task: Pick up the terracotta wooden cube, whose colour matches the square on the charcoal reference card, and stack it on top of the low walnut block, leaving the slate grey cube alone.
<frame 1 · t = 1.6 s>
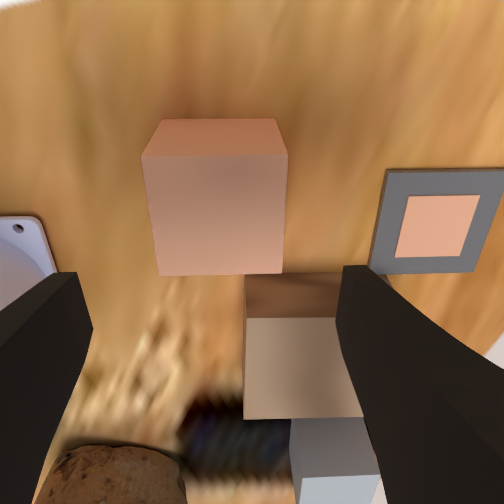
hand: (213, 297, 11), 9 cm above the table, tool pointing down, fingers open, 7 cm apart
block: (123, 464, 32), on the table
grey cube: (322, 427, 31), on the table
terracotta cube: (221, 171, 19), on the table
reference card: (431, 223, 21), on the table
walnut base: (306, 321, 25), on the table
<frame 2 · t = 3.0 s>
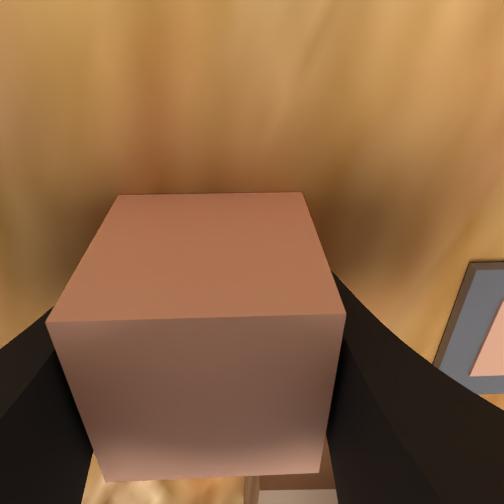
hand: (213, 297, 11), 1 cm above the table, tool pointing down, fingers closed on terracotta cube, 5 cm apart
terracotta cube: (215, 268, 12), on the table, touching gripper
walnut base: (335, 442, 18), on the table
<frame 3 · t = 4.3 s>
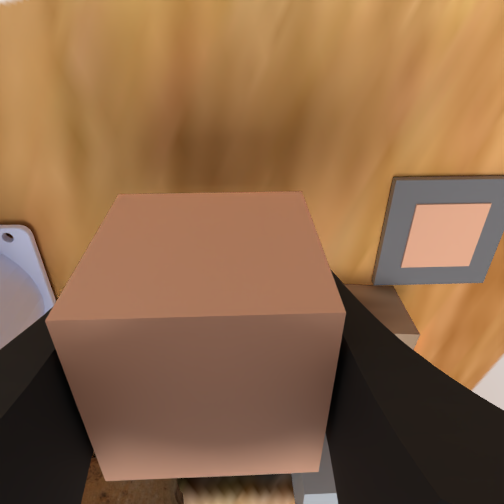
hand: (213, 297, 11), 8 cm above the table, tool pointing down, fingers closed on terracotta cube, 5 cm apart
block: (119, 475, 31), on the table
grey cube: (324, 439, 30), on the table
terracotta cube: (215, 267, 12), point 7 cm above the table, touching gripper
reference card: (439, 232, 20), on the table
walnut base: (309, 332, 24), on the table
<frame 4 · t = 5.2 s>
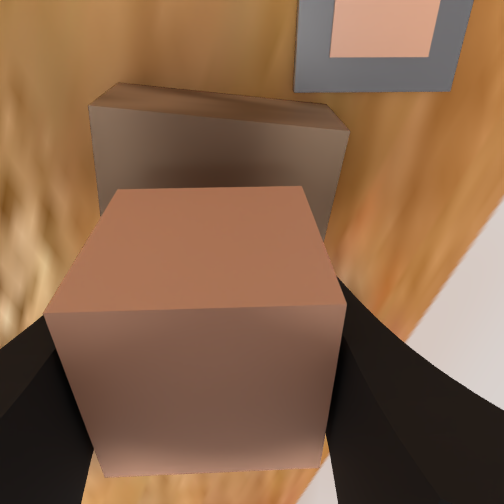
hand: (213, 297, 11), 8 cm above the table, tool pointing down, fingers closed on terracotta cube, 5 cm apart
terracotta cube: (215, 263, 12), point 6 cm above the table, touching gripper
walnut base: (218, 187, 18), on the table
when the fingers open (6 cm above the table, at t = 5.9 s): terracotta cube drops 1 cm, point 4 cm above the table.
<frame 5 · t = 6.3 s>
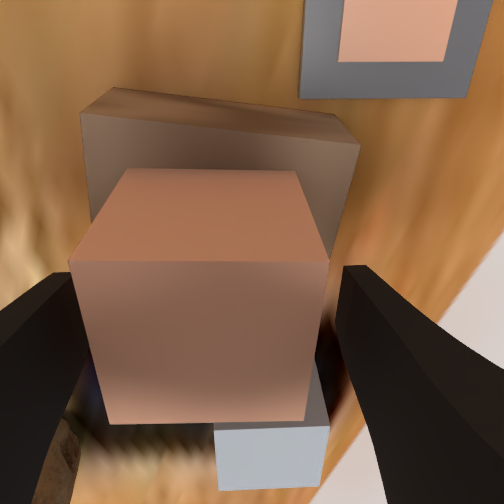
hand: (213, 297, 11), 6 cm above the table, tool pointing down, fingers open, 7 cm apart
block: (0, 426, 24), on the table
grey cube: (263, 374, 22), on the table
terracotta cube: (213, 241, 13), point 4 cm above the table
walnut base: (218, 197, 17), on the table
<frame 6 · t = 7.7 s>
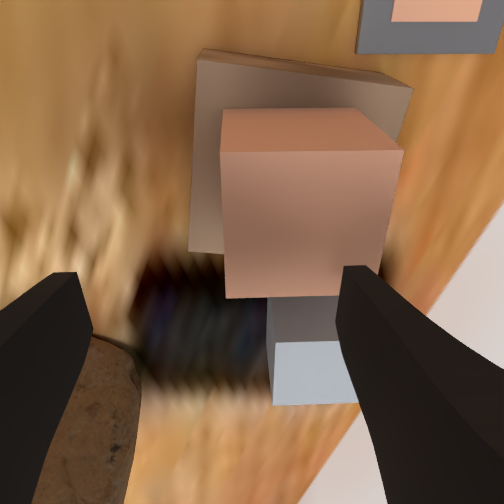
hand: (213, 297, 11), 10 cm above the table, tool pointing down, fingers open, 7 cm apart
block: (69, 362, 27), on the table
grey cube: (305, 312, 25), on the table
terracotta cube: (286, 171, 16), point 4 cm above the table
walnut base: (279, 147, 20), on the table
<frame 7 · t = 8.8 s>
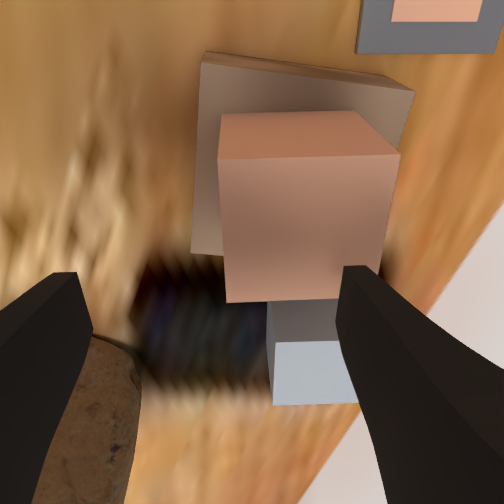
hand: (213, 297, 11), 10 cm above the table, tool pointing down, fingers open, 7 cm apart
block: (69, 362, 27), on the table
grey cube: (305, 312, 25), on the table
terracotta cube: (286, 174, 16), point 4 cm above the table
walnut base: (281, 149, 20), on the table
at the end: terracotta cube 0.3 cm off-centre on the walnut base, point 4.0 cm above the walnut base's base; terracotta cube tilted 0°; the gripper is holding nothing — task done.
